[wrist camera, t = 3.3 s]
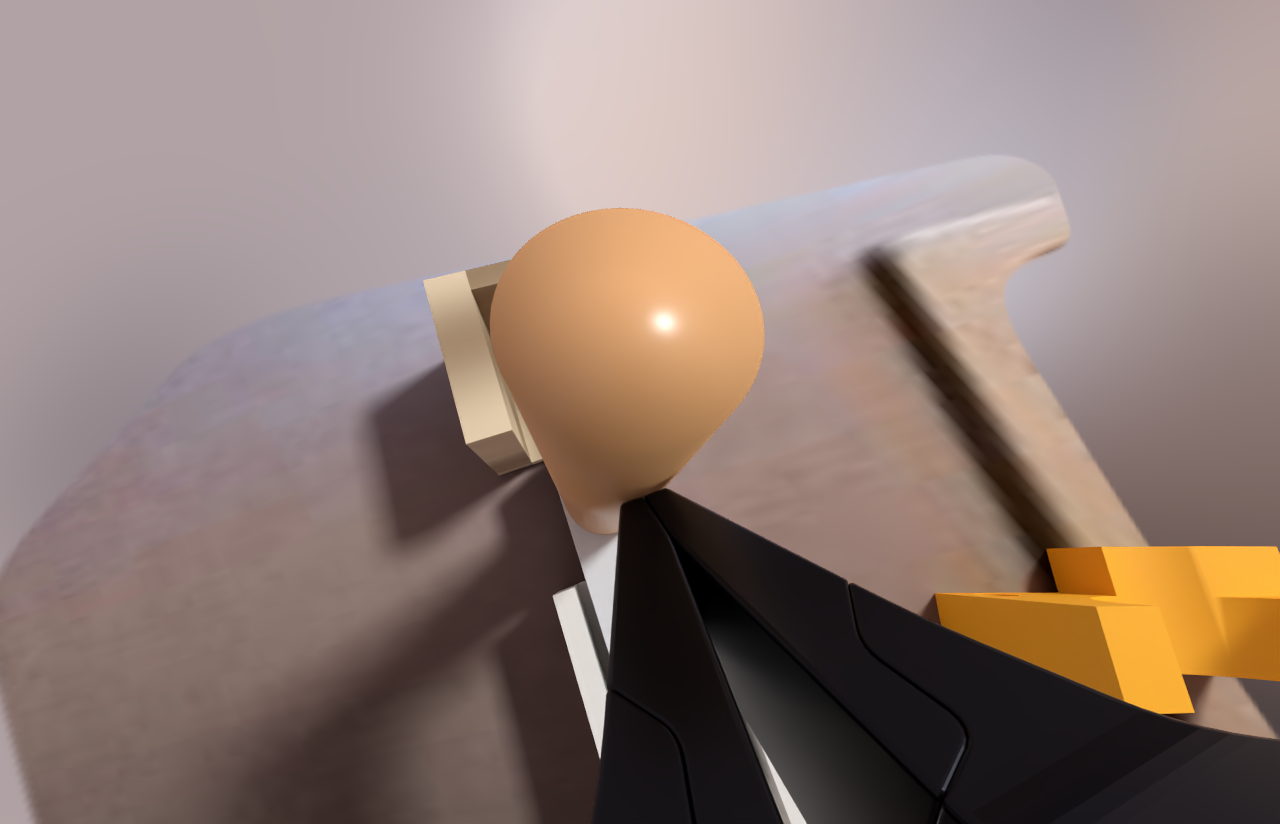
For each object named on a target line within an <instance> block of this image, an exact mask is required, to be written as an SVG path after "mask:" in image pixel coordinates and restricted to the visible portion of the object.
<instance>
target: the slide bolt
mask: <svg viewBox="0 0 1280 824" xmlns="http://www.w3.org/2000/svg"><path fill="white" fill-rule="evenodd" d="M490 336H491V343H492V347H493V352H494V356H495V359H496V361H497V364H498V367H499V369H500V372H501V374H502V376H503V378H504V380H505V382H506V384H507V386H508V389H509V391H510V393H511V395H512V397H513V399H514V401H515V403H516V405H517V407H518V409H519V411H520V413H521V415H522V418H523V420H524V422H525V424H526V426H527V428H528V430H529V432H530V434H531V436H532V438H533V440H534V442H535V444H536V447H537V449H538V451H539V453H540V455H541V457H542V459H543V461H544V463H545V465H546V467H547V469H548V471H549V473H550V476H551V478H552V480H553V482H554V484H555V486H556V488H557V490H558V493H559V496H560V499H561V502H562V506H563V509H564V512H565V515H566V518H567V522H568V525H569V528H570V531H571V534H572V538H573V541H574V544H575V547H576V550H577V554H578V557H579V560H580V563H581V566H582V569H583V573H584V576H585V579H586V582H587V585H588V589H589V592H590V595H591V598H592V601H593V605H594V608H595V611H596V614H597V617H598V621H599V624H600V627H601V630H602V633H603V636H604V640H605V643H606V646H607V649H608V652H610V638H611V624H612V610H613V597H614V583H615V569H616V555H617V541H618V527H619V513H620V506H621V504H623V503H625V502H627V501H630V500H633V499H636V498H640V497H642V498H644V499H645V496H646V495H648V494H650V493H653V492H655V491H658V490H661V489H664V488H665V487H666V486H667V485H668V484H669V483H670V481H671V480H672V479H673V478H674V477H675V476H676V475H677V474H678V473H679V471H680V470H681V469H682V468H683V467H684V466H685V465H686V464H687V462H688V461H689V460H690V459H691V458H692V457H693V456H694V455H695V454H696V452H697V451H698V450H699V449H700V448H701V447H702V446H703V445H704V443H705V442H706V441H707V440H708V439H709V438H710V437H711V436H712V435H713V433H714V432H715V431H716V430H717V429H718V428H719V427H720V426H721V425H722V423H723V422H724V421H725V420H726V419H727V418H728V417H729V416H730V414H731V413H732V412H733V411H734V410H735V409H736V408H737V407H738V406H739V404H740V403H741V402H742V400H743V399H744V397H745V396H746V395H747V393H748V392H749V390H750V388H751V386H752V384H753V382H754V380H755V378H756V376H757V373H758V370H759V367H760V364H761V361H762V355H763V349H764V323H763V315H762V311H761V307H760V303H759V300H758V297H757V295H756V292H755V290H754V288H753V285H752V283H751V282H750V280H749V278H748V277H747V275H746V273H745V272H744V270H743V269H742V268H741V266H740V265H739V264H738V262H737V261H736V260H735V258H734V257H733V256H732V255H731V254H730V253H729V252H728V251H727V250H726V249H725V248H724V247H723V246H721V245H720V244H719V243H718V242H717V241H715V240H714V239H713V238H712V237H710V236H709V235H707V234H706V233H704V232H702V231H701V230H699V229H698V228H696V227H694V226H692V225H690V224H688V223H686V222H684V221H681V220H679V219H676V218H674V217H671V216H668V215H664V214H661V213H657V212H653V211H647V210H640V209H628V208H613V209H601V210H595V211H589V212H585V213H581V214H578V215H574V216H571V217H569V218H566V219H564V220H561V221H559V222H557V223H555V224H553V225H551V226H549V227H548V228H546V229H544V230H543V231H541V232H540V233H538V234H537V235H536V236H534V237H533V238H532V239H530V240H529V241H528V242H527V243H526V244H525V245H524V246H523V247H522V248H521V249H520V250H519V251H518V252H517V253H516V255H515V256H514V257H513V258H512V260H511V261H510V262H509V264H508V265H507V267H506V269H505V270H504V272H503V274H502V275H501V277H500V280H499V282H498V285H497V287H496V289H495V293H494V297H493V301H492V305H491V313H490Z"/></svg>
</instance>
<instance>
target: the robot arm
mask: <svg viewBox="0 0 1280 824" xmlns="http://www.w3.org/2000/svg"><path fill="white" fill-rule="evenodd" d="M607 689H608V692H607V694H606V702H605V716H604V728H603V738H602V747H601V757H600V766H599V776H598V782H597V788H596V795H595V801H594V808H593V814H592V820H591V824H784V823H783V821H782V818H781V815H780V813H779V810H778V808H777V805H776V803H775V800H774V798H773V795H772V793H771V790H770V787H769V785H768V782H767V780H766V777H765V775H764V772H763V770H762V767H761V765H760V762H759V759H758V757H757V754H756V752H755V749H754V747H753V744H752V742H751V739H750V736H749V734H748V731H747V729H746V726H745V724H744V721H743V719H742V716H741V714H740V711H739V708H740V710H741V712H742V714H743V715H744V717H745V719H746V720H747V722H748V724H749V726H750V727H751V729H752V731H753V732H754V734H755V736H756V738H757V739H758V741H759V743H760V744H761V746H762V748H763V750H764V751H765V753H766V755H767V756H768V758H769V760H770V762H771V763H772V765H773V767H774V768H775V770H776V772H777V774H778V775H779V777H780V779H781V780H782V782H783V784H784V786H785V787H786V789H787V791H788V792H789V794H790V796H791V798H792V799H793V801H794V803H795V804H796V806H797V808H798V809H799V811H800V813H801V815H802V816H803V818H804V820H805V821H806V823H807V824H1280V740H1279V739H1272V738H1264V737H1257V736H1251V735H1244V734H1238V733H1232V732H1228V731H1223V730H1218V729H1214V728H1209V727H1204V726H1200V725H1197V724H1193V723H1189V722H1186V721H1182V720H1178V719H1175V718H1171V717H1168V716H1165V715H1162V714H1159V713H1156V712H1153V711H1150V710H1147V709H1143V708H1141V707H1138V706H1135V705H1133V704H1130V703H1128V702H1125V701H1122V700H1120V699H1117V698H1115V697H1112V696H1110V695H1107V694H1105V693H1102V692H1100V691H1098V690H1095V689H1093V688H1090V687H1088V686H1085V685H1083V684H1081V683H1078V682H1076V681H1073V680H1071V679H1068V678H1066V677H1064V676H1061V675H1059V674H1056V673H1054V672H1052V671H1049V670H1047V669H1044V668H1042V667H1039V666H1037V665H1035V664H1032V663H1030V662H1027V661H1025V660H1022V659H1020V658H1018V657H1015V656H1013V655H1010V654H1008V653H1006V652H1003V651H1001V650H998V649H996V648H993V647H991V646H989V645H986V644H984V643H981V642H979V641H976V640H974V639H972V638H969V637H967V636H965V635H963V634H960V633H958V632H956V631H953V630H951V629H949V628H946V627H944V626H942V625H940V624H937V623H935V622H933V621H930V620H928V619H926V618H923V617H921V616H919V615H917V614H915V613H913V612H911V611H909V610H907V609H905V608H903V607H901V606H899V605H896V604H894V603H892V602H890V601H888V600H886V599H884V598H882V597H880V596H878V595H876V594H874V593H872V592H870V591H868V590H866V589H864V588H862V587H860V586H858V585H856V584H854V583H850V584H849V585H848V581H847V580H846V579H844V578H842V577H840V576H838V575H836V574H834V573H832V572H830V571H828V570H826V569H825V568H823V567H821V566H819V565H817V564H815V563H813V562H811V561H809V560H807V559H805V558H803V557H801V556H799V555H797V554H795V553H793V552H791V551H789V550H787V549H785V548H783V547H781V546H779V545H777V544H776V543H774V542H772V541H770V540H768V539H766V538H764V537H762V536H760V535H758V534H756V533H754V532H752V531H750V530H748V529H746V528H744V527H742V526H740V525H738V524H736V523H734V522H732V521H730V520H729V519H727V518H725V517H723V516H721V515H719V514H717V513H715V512H713V511H711V510H709V509H707V508H705V507H703V506H701V505H699V504H697V503H695V502H693V501H691V500H689V499H687V498H685V497H683V496H682V495H680V494H678V493H676V492H674V491H672V490H670V489H666V488H664V489H661V490H658V491H655V492H653V493H650V494H648V495H646V496H645V499H644V498H642V497H640V498H636V499H633V500H630V501H627V502H625V503H623V504H621V506H620V513H619V527H618V541H617V555H616V569H615V583H614V597H613V610H612V624H611V638H610V652H609V666H608V680H607ZM737 705H738V706H737ZM738 707H739V708H738Z"/></svg>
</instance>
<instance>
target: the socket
mask: <svg viewBox="0 0 1280 824" xmlns="http://www.w3.org/2000/svg"><path fill="white" fill-rule="evenodd" d="M510 261H511V260H508V261H504V262H500V263H495V264H491V265H487V266H483V267H478V268H474V269H470V270H466V271H461V272H457V273H453V274H449V275H444V276H440V277H436V278H432V279H427V280H423V282H424V286H425V290H426V293H427V297H428V301H429V305H430V309H431V312H432V316H433V320H434V324H435V328H436V332H437V335H438V339H439V343H440V347H441V351H442V354H443V358H444V362H445V366H446V370H447V373H448V377H449V381H450V385H451V389H452V393H453V396H454V400H455V404H456V408H457V412H458V415H459V419H460V423H461V427H462V431H463V434H464V438H465V442H466V445H467V446H469V447H470V448H471V449H472V450H473V451H474V452H475V453H476V454H477V455H478V456H479V457H480V458H481V459H482V460H483V461H484V462H485V463H486V464H487V465H488V466H490V467H491V468H492V469H493V470H494V471H495V472H496V473H497V474H498V475H499V476H500V475H503V474H506V473H509V472H512V471H515V470H518V469H521V468H524V467H527V466H530V465H533V464H536V463H539V462H542V461H543V459H542V457H541V455H540V453H539V451H538V449H537V447H536V444H535V442H534V440H533V438H532V436H531V434H530V432H529V430H528V428H527V426H526V424H525V422H524V420H523V418H522V415H521V413H520V411H519V409H518V407H517V405H516V403H515V401H514V399H513V397H512V395H511V393H510V391H509V389H508V386H507V384H506V382H505V380H504V378H503V376H502V374H501V372H500V369H499V367H498V364H497V361H496V359H495V356H494V352H493V347H492V343H491V336H490V313H491V305H492V301H493V297H494V293H495V289H496V287H497V285H498V282H499V280H500V277H501V275H502V274H503V272H504V270H505V269H506V267H507V265H508V264H509V262H510Z"/></svg>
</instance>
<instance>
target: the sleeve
mask: <svg viewBox="0 0 1280 824" xmlns="http://www.w3.org/2000/svg"><path fill="white" fill-rule="evenodd" d="M553 599H554V602H555V606H556V609H557V613H558V616H559V620H560V623H561V626H562V630H563V633H564V637H565V640H566V644H567V647H568V651H569V654H570V657H571V661H572V664H573V668H574V671H575V675H576V678H577V682H578V685H579V688H580V692H581V695H582V699H583V702H584V706H585V709H586V713H587V716H588V719H589V723H590V726H591V730H592V733H593V737H594V740H595V744H596V747H597V750H598V754H599V757H601V747H602V738H603V728H604V716H605V702H606V694H607V692H608V689H607V680H608V666H609V652H608V649H607V646H606V643H605V640H604V636H603V633H602V630H601V627H600V624H599V621H598V617H597V614H596V611H595V608H594V605H593V601H592V598H591V595H590V592H589V589H588V585H587V582H586V581H583V582H581V583H578V584H576V585H573V586H570V587H568V588H565V589H563V590H560V591H559V592H557V593H556V594H554V595H553ZM737 706H738V705H737ZM738 708H739V707H738ZM739 711H740V714H741V716H742V719H743V721H744V724H745V726H746V729H747V731H748V734H749V736H750V739H751V742H752V744H753V747H754V749H755V752H756V754H757V757H758V759H759V762H760V765H761V767H762V770H763V772H764V775H765V777H766V780H767V782H768V785H769V787H770V790H771V793H772V795H773V798H774V800H775V803H776V805H777V808H778V810H779V813H780V815H781V818H782V821H783V823H784V824H807V823H806V821H805V820H804V818H803V816H802V815H801V813H800V811H799V809H798V808H797V806H796V804H795V803H794V801H793V799H792V798H791V796H790V794H789V792H788V791H787V789H786V787H785V786H784V784H783V782H782V780H781V779H780V777H779V775H778V774H777V772H776V770H775V768H774V767H773V765H772V763H771V762H770V760H769V758H768V756H767V755H766V753H765V751H764V750H763V748H762V746H761V744H760V743H759V741H758V739H757V738H756V736H755V734H754V732H753V731H752V729H751V727H750V726H749V724H748V722H747V720H746V719H745V717H744V715H743V714H742V712H741V710H740V708H739Z"/></svg>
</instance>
